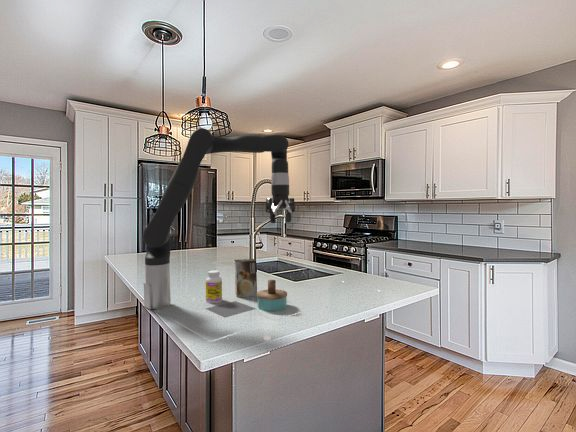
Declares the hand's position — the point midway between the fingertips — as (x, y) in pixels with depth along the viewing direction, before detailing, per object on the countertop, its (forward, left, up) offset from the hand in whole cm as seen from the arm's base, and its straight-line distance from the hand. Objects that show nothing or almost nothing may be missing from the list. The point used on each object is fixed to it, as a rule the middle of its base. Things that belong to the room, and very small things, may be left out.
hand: (281, 222), depth 138 cm
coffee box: (-7, +16, -33) cm, 37 cm away
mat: (-23, +4, -33) cm, 40 cm away
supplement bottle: (-22, +18, -33) cm, 44 cm away
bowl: (-10, -6, -33) cm, 35 cm away
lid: (-10, -6, -28) cm, 30 cm away
